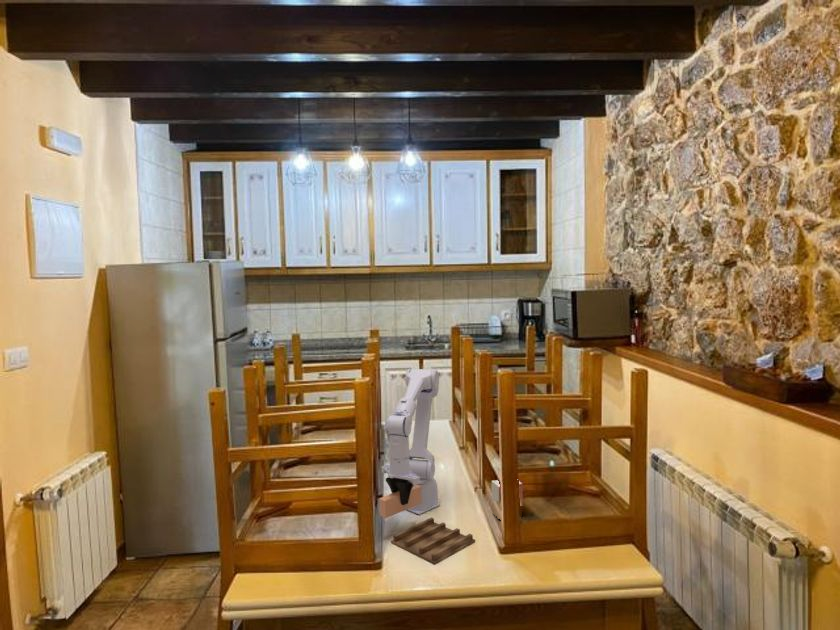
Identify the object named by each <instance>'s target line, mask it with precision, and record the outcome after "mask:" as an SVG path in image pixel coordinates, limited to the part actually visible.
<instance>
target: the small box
mask: <svg viewBox="0 0 840 630" xmlns="http://www.w3.org/2000/svg"><path fill="white" fill-rule="evenodd" d="M498 480H499V479H497V480H495V479H494V480H491V502H492V501H499V500H500V484H499V481H498ZM523 488H524V487H523V483H522V482H521V481H520V480H519V498H520V506H523V504H524V503H523V502H524V501H523V500H524V498H523V497H524V495H523V494H524V492H523ZM523 507H524V506H523Z"/></svg>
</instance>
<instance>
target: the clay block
mask: <svg viewBox="0 0 840 630" xmlns="http://www.w3.org/2000/svg"><path fill="white" fill-rule="evenodd" d="M378 503H379V516H380V517H382V518H384V519H387V518H390V517H392V516H394V515H397V514H399V513H401V512H403V511H405V510H406V509H408V508H411V507H413V506H415V505H418V504H420V503H422V494H421V486H419V485H413V487H412V490H411V493H410V497H409V501H408V504H405V505H402V504H401V500H400V492H399V491H397V492H394V493H392V492H391V493H389V494H387V495H385V496H382V497H379V498H378ZM406 511H407V510H406Z"/></svg>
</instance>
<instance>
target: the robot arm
mask: <svg viewBox="0 0 840 630" xmlns="http://www.w3.org/2000/svg"><path fill="white" fill-rule="evenodd" d="M439 375H440V374H439V371H438V370H437V369H436V368H432V369H429V368H408V369H407V370H406V373H405V384H406V390H405V392H404V393H405V394H404V396H403V397H401V398H399V399H398V402H397V403H396V406H395V408H394V410H393V412H392V414H390V415H389V416H386V419H385V421H384V432H385V435H386V440H387V442H388V453H389V454H388V455H389V464H384V465H382V466H381V473H382V474H387V477H386V478H385V483H387V485H388V487H389V489H390V491H391V494H392V493H394V492H397V491H399V492H400V500H401V504H402V505H405V504H408V501H409V497H410V493H411V490H412V487H413V485H419V486H421V494H422V503H420V504H418V505H415V506H413V507H411V508H408V509H406V511H409V512H411V513H413V514H416V515H418V516H419V515H422V514H424V513H426V512H428V511H430V510H432V509H434V508H435V509H436V508H437V507H439V506H440V505H441V504H440V503H439V497H438V494H439V493H438V492H439V490H438V483H437V481H436V479H435V478H434V477H435V473H436V466H435V463H436V461H435V460H436V459H435V456H434V455H433V454H432V453H431V452H430V451H429V449H428V442H429V441H428V440H429V433H430V431H429V430H430V425H431V423H430V421H431V413H432V411H431V410H432V403H433V398H435V397H437V396H438V393H439V385H440V376H439ZM414 415H415V417H414ZM413 417H414V426H413V434H412V444H411V445H412V446H411V448H410V441H409V437H410V434H411V433H412V425H413Z"/></svg>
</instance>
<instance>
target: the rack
mask: <svg viewBox="0 0 840 630" xmlns="http://www.w3.org/2000/svg"><path fill="white" fill-rule="evenodd" d="M446 525H447V524H446V523H445V522H441V523H436V522H435V518H434V517H429V518H426V519H425V520H423V521H420V522H418V523H417V524H415V525H412V526H410V527H408V528H406V529H404V530H402V531H400V532H398V533H396V534H394V535H393V536H392V537H393V539H392V540H390V543H391V544H393V545H394V546H397V547H398V548H401V549H402V550H404V551H407V552H408V553H411V554H413V555H415V556H417V557H419V558H421V559H422V560H424V561H426V562H428V563H431V564H433V565H434V566H435V565H436V564H439V563H440V562H442V561H444V560H445V559H448V558H450V557H451V556H453V555H455V554H457V553H458V552H460V551H462V550H463V549H466V548H467V547H469V546H471V545H472V544H474V543H476V539H474V538H473V537H474V536H473V534H472V533H468V534H466V535H465V534H463V533H461V531H460V530H461V529H459V528H454V529H451V528H449V527H446Z"/></svg>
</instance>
